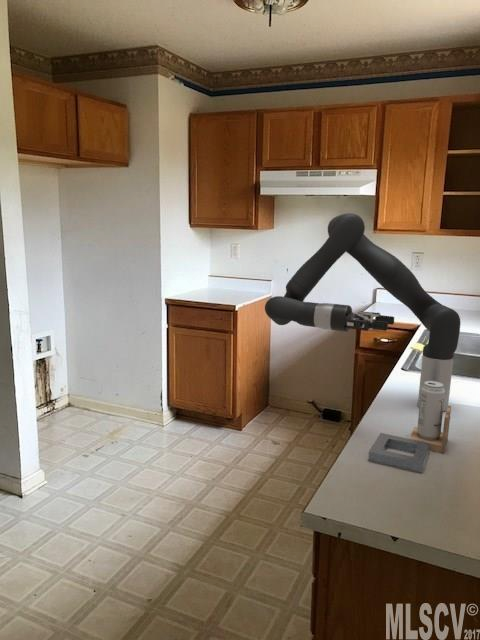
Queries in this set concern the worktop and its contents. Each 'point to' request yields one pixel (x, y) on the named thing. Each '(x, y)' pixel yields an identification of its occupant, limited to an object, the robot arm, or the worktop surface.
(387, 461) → the socket block
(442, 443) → the wooden l-shaped stand
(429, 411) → the energy drink can
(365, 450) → the worktop surface
